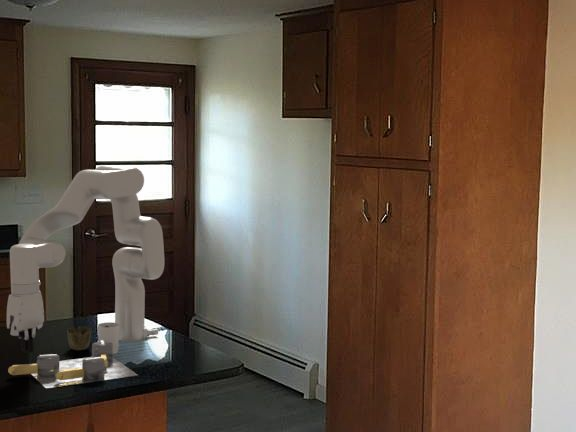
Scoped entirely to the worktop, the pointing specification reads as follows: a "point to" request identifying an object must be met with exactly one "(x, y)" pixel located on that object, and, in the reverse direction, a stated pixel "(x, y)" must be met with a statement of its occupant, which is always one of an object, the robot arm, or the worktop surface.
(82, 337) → the cup
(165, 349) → the worktop surface
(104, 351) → the knob
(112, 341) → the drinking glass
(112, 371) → the plate
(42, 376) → the knob
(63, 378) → the knob left
